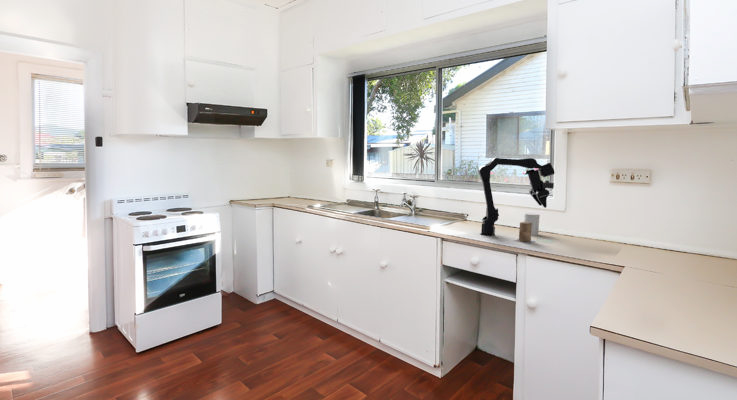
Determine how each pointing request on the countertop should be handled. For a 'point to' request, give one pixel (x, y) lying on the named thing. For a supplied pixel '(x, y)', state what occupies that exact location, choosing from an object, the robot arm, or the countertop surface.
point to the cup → (533, 222)
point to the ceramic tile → (545, 240)
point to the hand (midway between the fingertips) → (543, 206)
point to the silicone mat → (525, 242)
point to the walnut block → (525, 231)
